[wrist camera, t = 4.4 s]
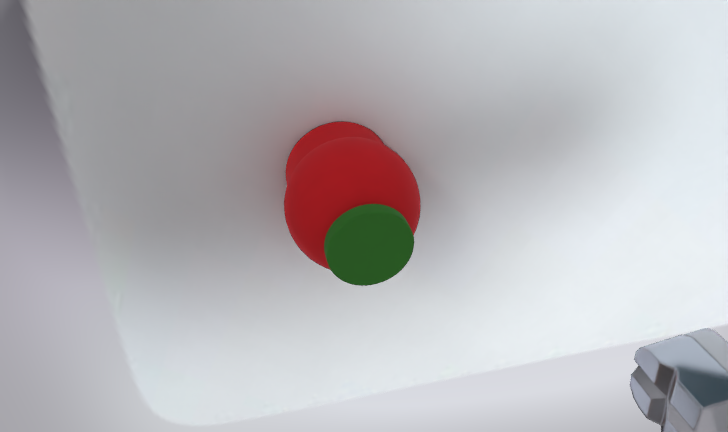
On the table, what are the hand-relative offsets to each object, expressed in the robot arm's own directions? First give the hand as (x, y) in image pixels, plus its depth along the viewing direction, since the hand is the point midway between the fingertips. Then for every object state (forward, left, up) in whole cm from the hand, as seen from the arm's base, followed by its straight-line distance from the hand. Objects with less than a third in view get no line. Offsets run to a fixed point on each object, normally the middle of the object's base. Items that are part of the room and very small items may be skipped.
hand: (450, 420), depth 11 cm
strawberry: (0, 0, -11) cm, 11 cm away
